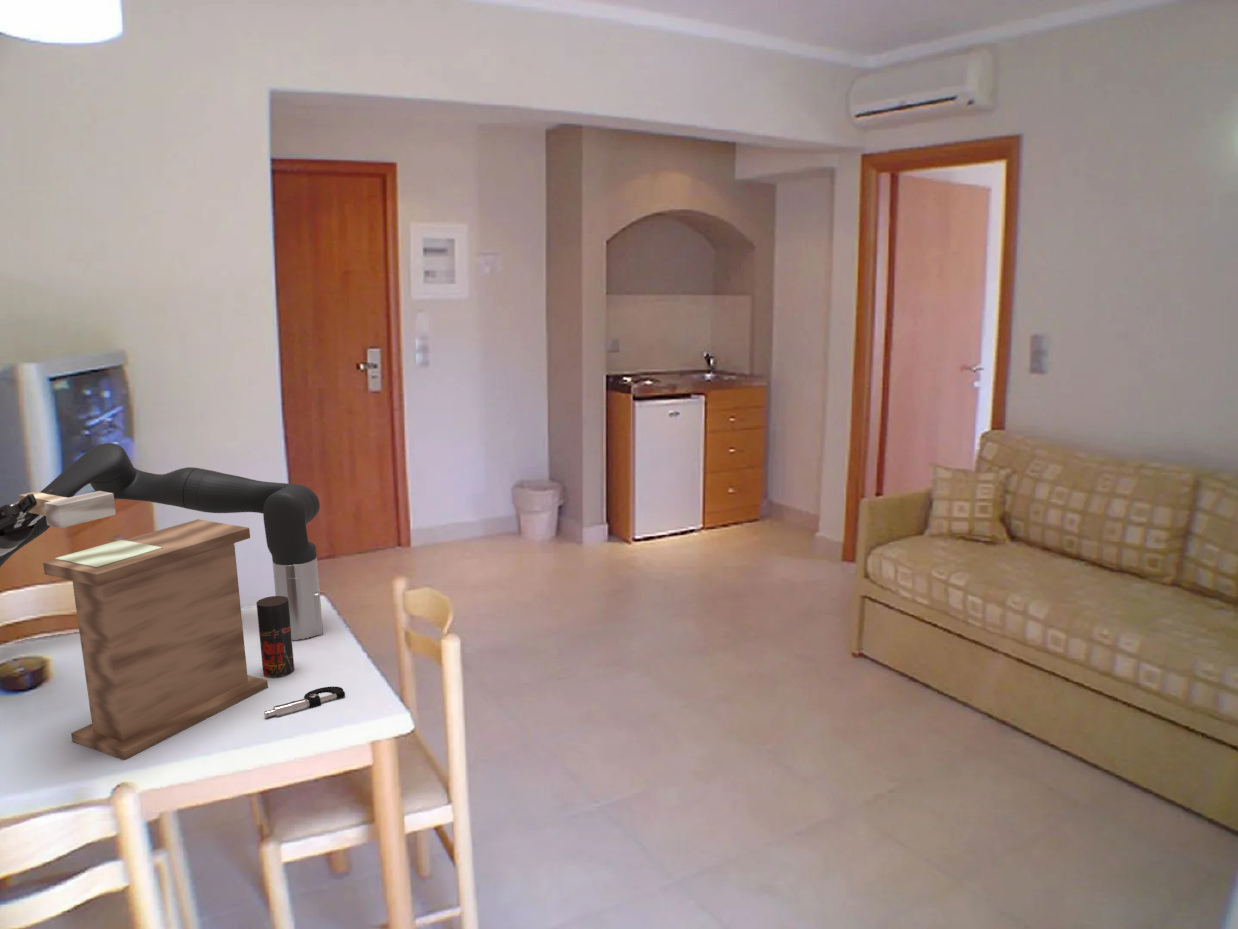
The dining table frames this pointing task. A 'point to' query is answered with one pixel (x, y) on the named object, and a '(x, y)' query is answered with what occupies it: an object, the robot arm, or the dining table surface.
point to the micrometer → (305, 702)
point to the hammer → (73, 507)
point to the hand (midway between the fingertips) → (43, 496)
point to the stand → (158, 633)
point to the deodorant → (275, 636)
